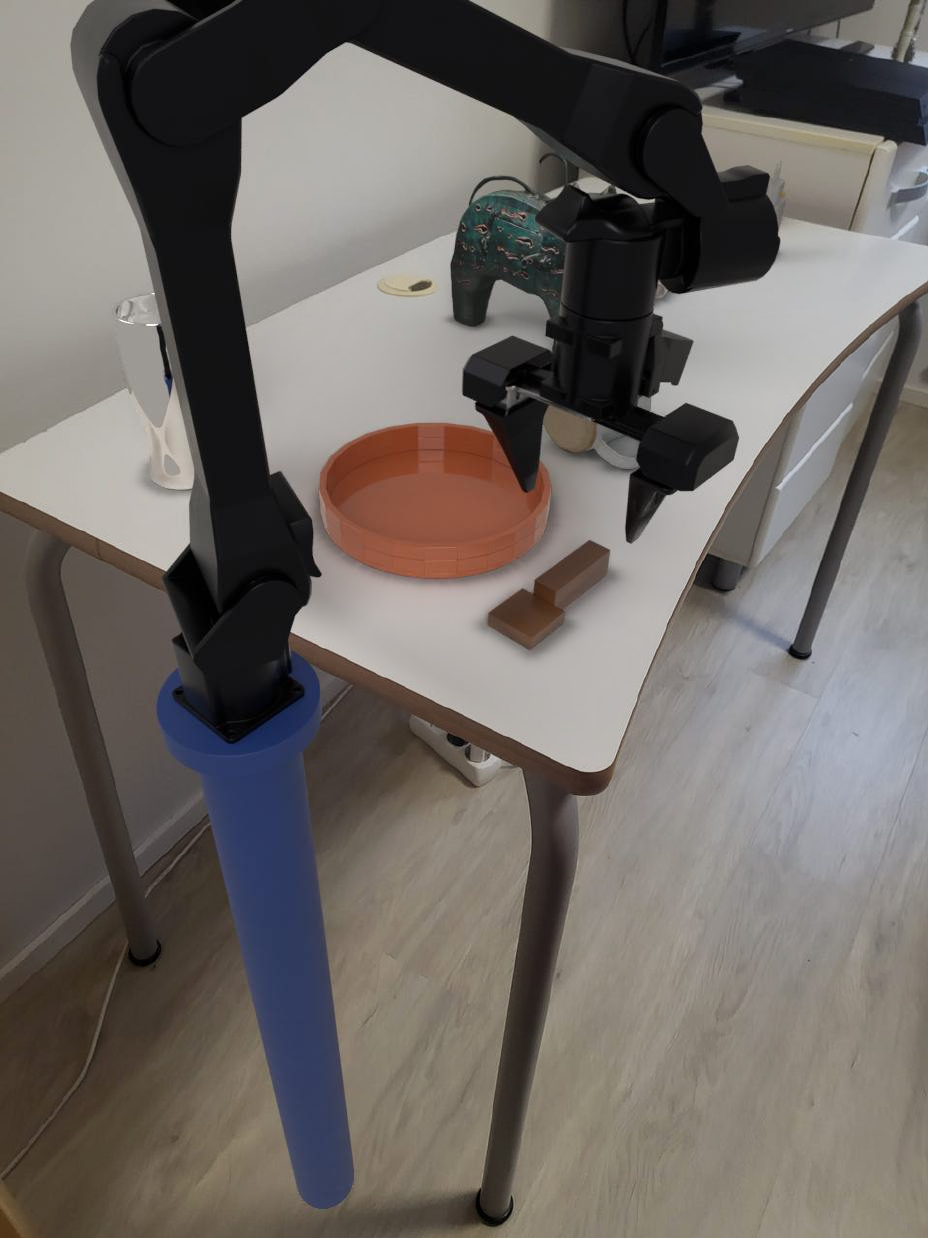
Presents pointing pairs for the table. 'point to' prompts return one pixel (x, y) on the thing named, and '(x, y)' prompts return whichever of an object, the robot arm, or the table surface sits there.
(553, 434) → the ceramic mug
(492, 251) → the ceramic cat
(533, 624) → the stepped brown block
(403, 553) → the bowl
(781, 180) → the grey nozzle bottle
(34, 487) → the table surface
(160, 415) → the beer glass
